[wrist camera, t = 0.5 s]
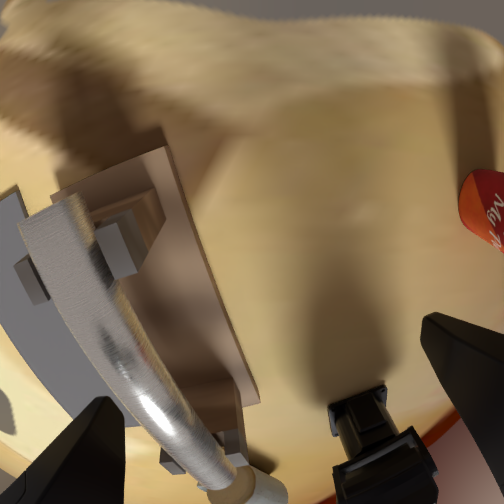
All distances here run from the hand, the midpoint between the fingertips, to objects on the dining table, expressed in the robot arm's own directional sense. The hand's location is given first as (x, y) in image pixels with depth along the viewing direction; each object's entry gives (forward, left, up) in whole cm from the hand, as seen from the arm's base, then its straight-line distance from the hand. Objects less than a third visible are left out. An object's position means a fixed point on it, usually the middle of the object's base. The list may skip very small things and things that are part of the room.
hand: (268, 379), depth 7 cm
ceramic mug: (-31, +10, -13) cm, 35 cm away
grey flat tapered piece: (-4, +18, -13) cm, 23 cm away
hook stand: (-4, +6, -13) cm, 15 cm away
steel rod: (-4, +6, -6) cm, 10 cm away
